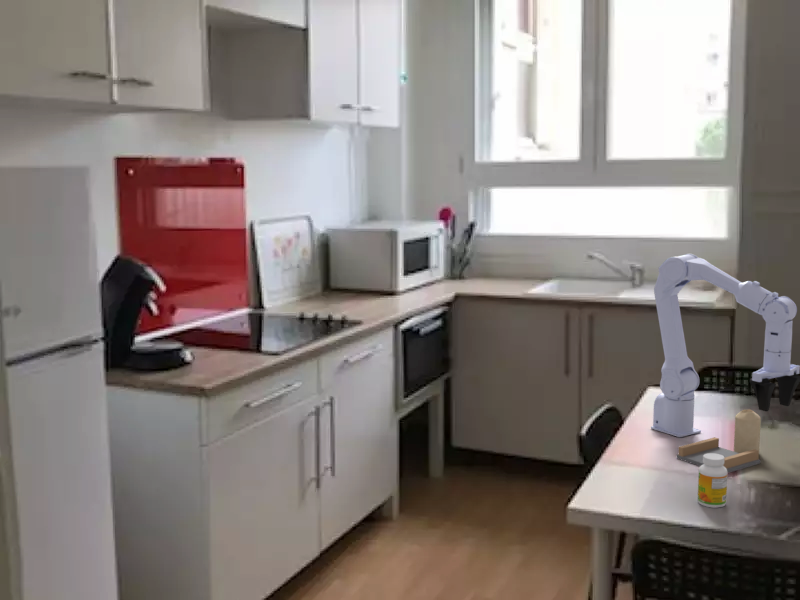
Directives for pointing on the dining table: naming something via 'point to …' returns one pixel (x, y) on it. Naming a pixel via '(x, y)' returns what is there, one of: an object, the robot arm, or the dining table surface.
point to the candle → (747, 431)
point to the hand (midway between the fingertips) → (774, 407)
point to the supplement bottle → (712, 481)
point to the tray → (711, 445)
